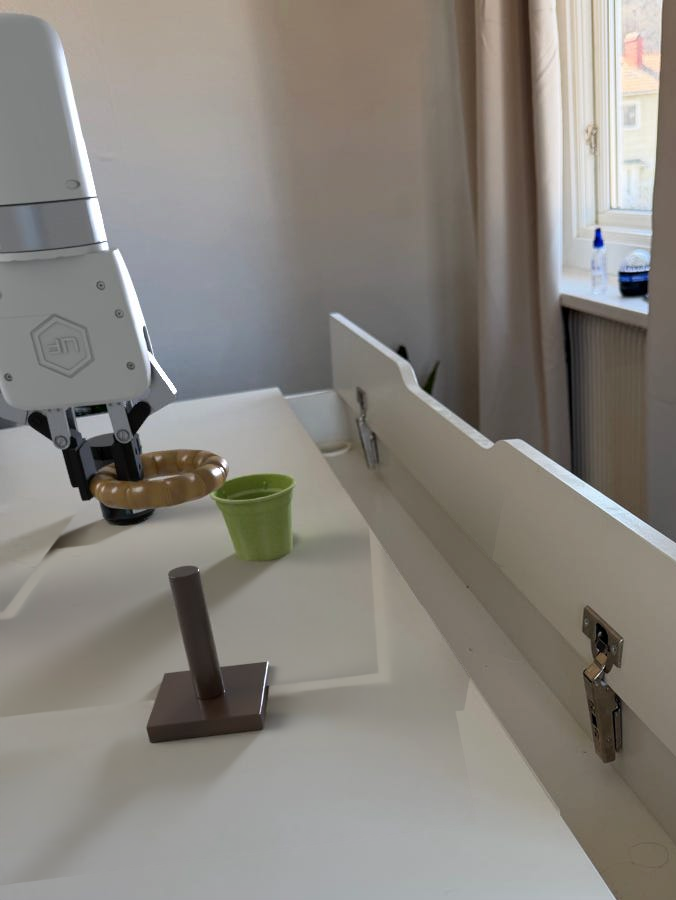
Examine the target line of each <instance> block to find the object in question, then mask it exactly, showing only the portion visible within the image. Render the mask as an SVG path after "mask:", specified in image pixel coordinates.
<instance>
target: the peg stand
mask: <svg viewBox="0 0 676 900" xmlns="http://www.w3.org/2000/svg"><path fill="white" fill-rule="evenodd" d="M167 577H168V581H169V587H170V591H171V594H172V599H173V602H174V606H175V613H176V616H177V620H178V621H177V622H178V625H179V629H180V633H181V638H182V639H181V640H182V642H183V647H184V652H185V655H186V660H187V664H188V668H189V670H180V671H174V672H173V671H172V672H164V674H163V677H162V680H161V682H160V685H159V688H158V692H157V695H156V697H155V700H154V703H153V706H152V709H151V712H150V715H149V718H148V720H147V724H146V726H145V729H146V732H147V736H148V741H149V742H150V743H157V742H166V741H167V742H168V741H175V740H184V739H192V738H199V737H200V738H201V737H209V736H217V735H218V736H219V735H224V734H225V735H226V734H234V733H241V732H242V733H243V732H250V731H259V730H264V729H265V728H264V726H265V720H266V712H267V705H268V698H269V691H270V685H267V684H268V678H269V672H270V663H269V661H259V662H251V663H250V662H249V663H244V664H235V665H225V666H220V660H219V656H218V652H217V651H218V650H217V646H216V642H215V637H214V632H213V627H212V621H211V619H210V614H209V609H208V604H207V599H206V595H205V590H204V586H203V581H202V575H201V571H200V568H199V567H198V566H196V565H183V566H178V567H174V568H172V569H171V570H170V571H168V573H167Z"/></svg>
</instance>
